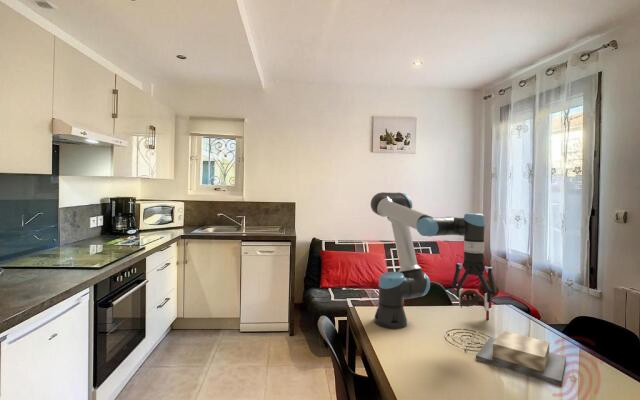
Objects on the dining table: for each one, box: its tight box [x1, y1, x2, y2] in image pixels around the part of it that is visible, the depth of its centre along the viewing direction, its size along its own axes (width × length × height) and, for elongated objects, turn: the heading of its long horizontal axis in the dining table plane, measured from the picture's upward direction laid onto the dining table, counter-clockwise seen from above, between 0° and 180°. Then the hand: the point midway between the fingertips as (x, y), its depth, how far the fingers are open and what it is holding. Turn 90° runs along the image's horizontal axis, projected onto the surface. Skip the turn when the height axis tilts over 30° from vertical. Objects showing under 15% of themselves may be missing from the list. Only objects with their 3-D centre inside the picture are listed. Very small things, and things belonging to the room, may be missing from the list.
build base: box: [475, 330, 567, 386], centre depth 126 cm, size 26×22×6 cm
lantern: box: [477, 277, 500, 321], centre depth 167 cm, size 10×10×30 cm
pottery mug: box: [459, 289, 485, 309], centre depth 136 cm, size 12×10×8 cm
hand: (473, 307), depth 135 cm, fingers closed on pottery mug, 9 cm apart
